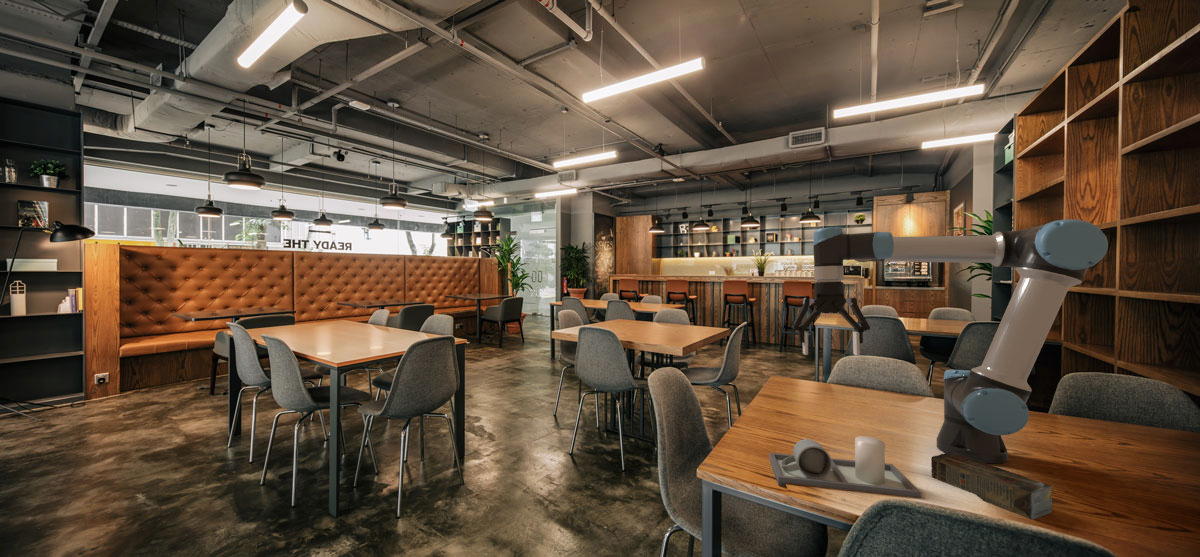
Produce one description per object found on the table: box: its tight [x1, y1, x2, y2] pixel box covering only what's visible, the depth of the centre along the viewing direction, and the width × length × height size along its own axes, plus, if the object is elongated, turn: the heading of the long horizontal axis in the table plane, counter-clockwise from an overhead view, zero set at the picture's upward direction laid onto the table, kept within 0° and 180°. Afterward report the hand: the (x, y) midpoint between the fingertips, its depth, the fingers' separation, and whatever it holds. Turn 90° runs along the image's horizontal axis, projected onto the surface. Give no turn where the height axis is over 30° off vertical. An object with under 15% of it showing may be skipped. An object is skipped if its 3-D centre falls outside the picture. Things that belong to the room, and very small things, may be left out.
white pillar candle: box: [854, 435, 886, 484], centre depth 103 cm, size 6×6×9 cm
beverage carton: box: [930, 452, 1053, 521], centre depth 96 cm, size 8×19×7 cm, turn 22°
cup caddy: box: [769, 452, 922, 499], centre depth 104 cm, size 29×15×2 cm, turn 76°
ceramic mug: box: [781, 438, 832, 479], centre depth 106 cm, size 11×8×8 cm
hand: (830, 354), depth 125 cm, fingers open, 13 cm apart
